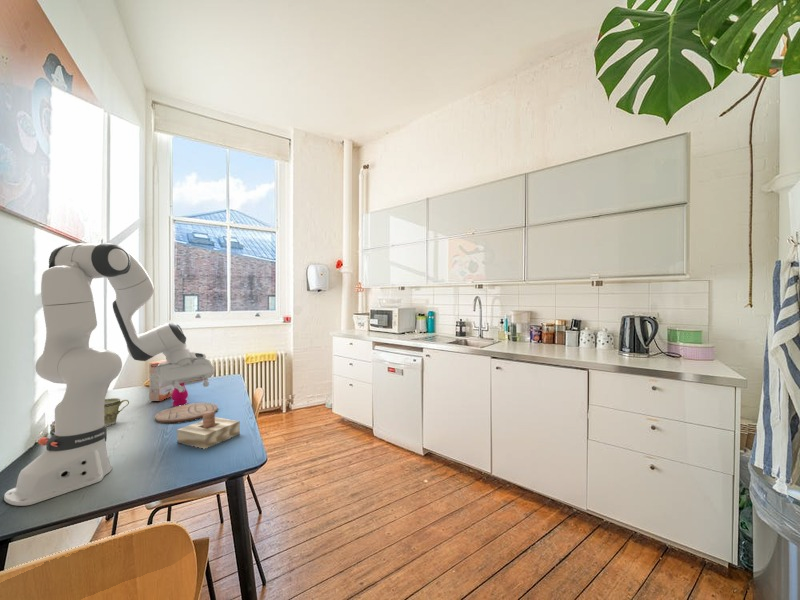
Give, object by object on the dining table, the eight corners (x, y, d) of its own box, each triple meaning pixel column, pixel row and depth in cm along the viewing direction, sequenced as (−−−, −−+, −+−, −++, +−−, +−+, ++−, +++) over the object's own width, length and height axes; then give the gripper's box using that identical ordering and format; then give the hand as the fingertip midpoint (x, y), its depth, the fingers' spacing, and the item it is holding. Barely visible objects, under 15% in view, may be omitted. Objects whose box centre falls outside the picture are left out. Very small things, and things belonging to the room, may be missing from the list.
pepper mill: (168, 405, 177) (167, 366, 177) (183, 401, 183) (182, 364, 183) (176, 407, 174) (176, 367, 174) (191, 403, 180) (190, 365, 180)
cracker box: (160, 402, 183) (159, 362, 183) (148, 402, 183) (148, 363, 183) (177, 394, 197) (176, 358, 197) (167, 395, 197) (166, 358, 197)
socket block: (204, 449, 123) (204, 435, 123) (177, 442, 129) (177, 429, 129) (239, 434, 136) (239, 421, 136) (213, 428, 142) (213, 416, 142)
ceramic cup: (90, 430, 144) (90, 406, 144) (90, 424, 151) (90, 401, 151) (130, 422, 152) (129, 399, 152) (128, 417, 160) (128, 395, 160)
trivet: (157, 428, 145) (157, 424, 145) (153, 414, 165) (153, 410, 165) (222, 415, 161) (222, 411, 161) (212, 403, 180) (212, 399, 180)
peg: (208, 441, 130) (207, 414, 130) (200, 439, 131) (200, 413, 131) (217, 437, 133) (217, 411, 133) (210, 435, 135) (210, 410, 135)
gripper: (156, 360, 131) (170, 389, 127) (208, 353, 149) (222, 378, 144) (150, 371, 134) (163, 399, 129) (202, 362, 151) (216, 387, 147)
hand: (195, 388), depth 137 cm, fingers open, 8 cm apart
